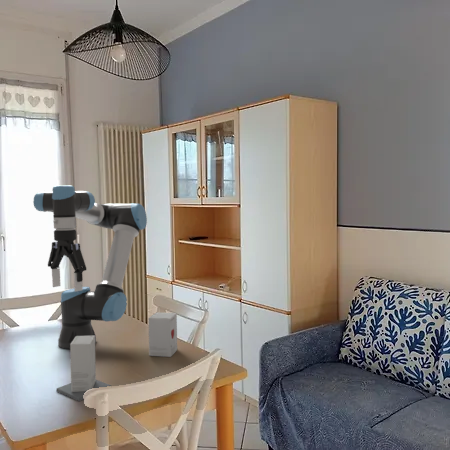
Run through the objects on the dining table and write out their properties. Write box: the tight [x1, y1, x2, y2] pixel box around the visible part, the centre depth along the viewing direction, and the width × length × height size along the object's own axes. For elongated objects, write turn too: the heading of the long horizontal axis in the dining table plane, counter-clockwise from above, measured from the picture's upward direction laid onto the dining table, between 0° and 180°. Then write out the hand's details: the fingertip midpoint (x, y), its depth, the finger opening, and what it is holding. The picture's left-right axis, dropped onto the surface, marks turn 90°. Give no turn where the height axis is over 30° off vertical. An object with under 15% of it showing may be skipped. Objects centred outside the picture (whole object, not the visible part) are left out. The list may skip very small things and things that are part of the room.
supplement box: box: [148, 312, 178, 358], centre depth 187 cm, size 9×9×15 cm
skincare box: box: [69, 334, 97, 392], centre depth 153 cm, size 8×7×16 cm
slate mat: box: [55, 379, 112, 402], centre depth 154 cm, size 12×12×1 cm
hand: (67, 288), depth 172 cm, fingers open, 13 cm apart
